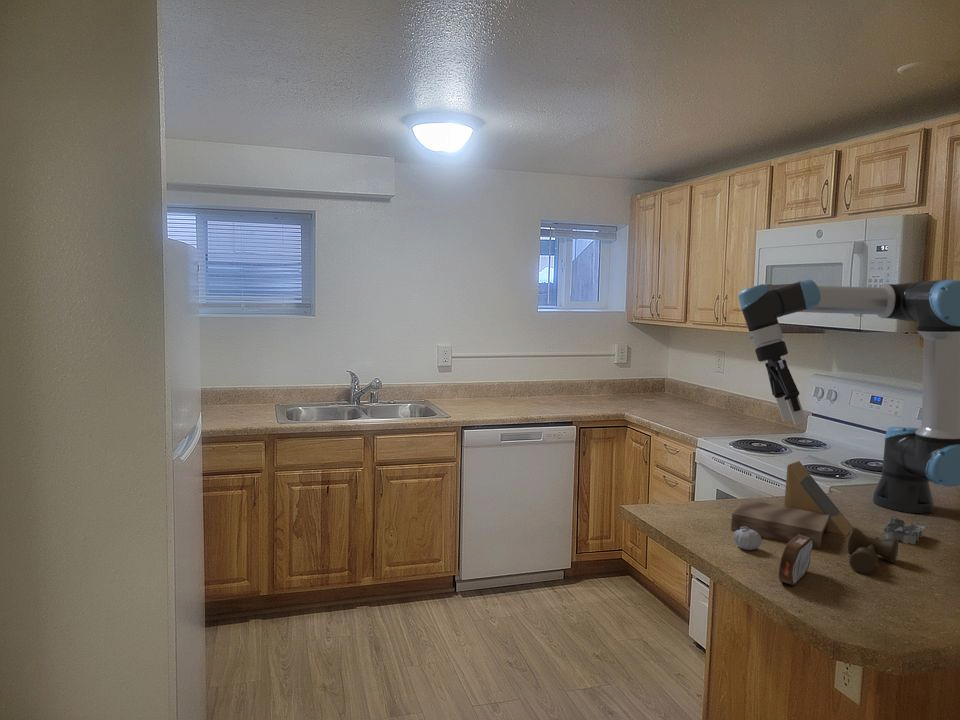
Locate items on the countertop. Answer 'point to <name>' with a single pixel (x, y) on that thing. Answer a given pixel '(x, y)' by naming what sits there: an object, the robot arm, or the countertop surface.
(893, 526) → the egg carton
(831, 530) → the sandwich container
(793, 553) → the tin
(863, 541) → the kendama
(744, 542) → the garlic
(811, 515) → the walnut shelf
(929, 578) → the countertop surface
